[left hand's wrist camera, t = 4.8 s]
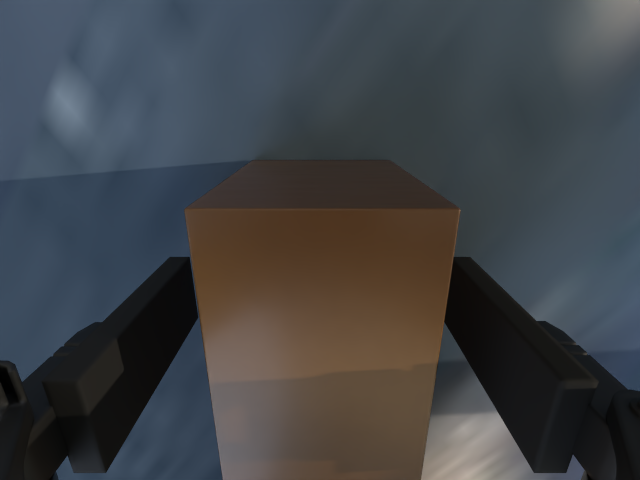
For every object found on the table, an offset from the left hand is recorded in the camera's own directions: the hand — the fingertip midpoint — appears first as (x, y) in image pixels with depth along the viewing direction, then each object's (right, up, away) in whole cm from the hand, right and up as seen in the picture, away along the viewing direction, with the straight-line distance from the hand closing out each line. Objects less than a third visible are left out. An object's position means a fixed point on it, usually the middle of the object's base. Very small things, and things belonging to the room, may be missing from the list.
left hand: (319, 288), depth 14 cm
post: (0, -30, +13) cm, 33 cm away
